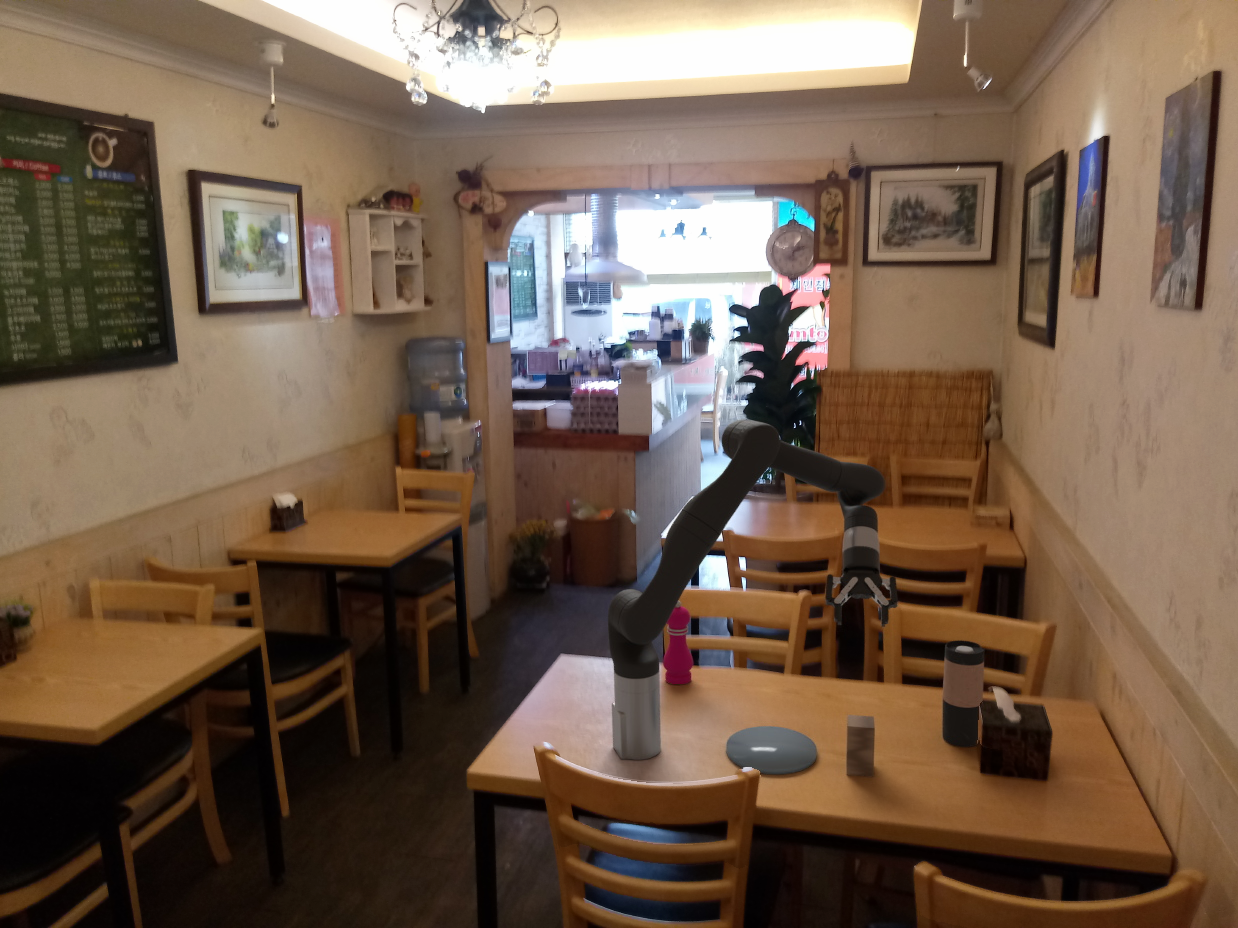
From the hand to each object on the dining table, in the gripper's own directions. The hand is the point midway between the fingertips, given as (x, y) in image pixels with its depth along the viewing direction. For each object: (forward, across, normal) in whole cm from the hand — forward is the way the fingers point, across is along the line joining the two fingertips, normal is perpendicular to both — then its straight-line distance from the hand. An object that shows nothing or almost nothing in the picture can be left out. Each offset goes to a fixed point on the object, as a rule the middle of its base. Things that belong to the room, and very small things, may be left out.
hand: (861, 624), depth 187 cm
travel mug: (+15, +20, +22) cm, 33 cm away
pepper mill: (+1, -42, +34) cm, 55 cm away
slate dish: (+24, -18, +12) cm, 32 cm away
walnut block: (+26, 0, +9) cm, 28 cm away
